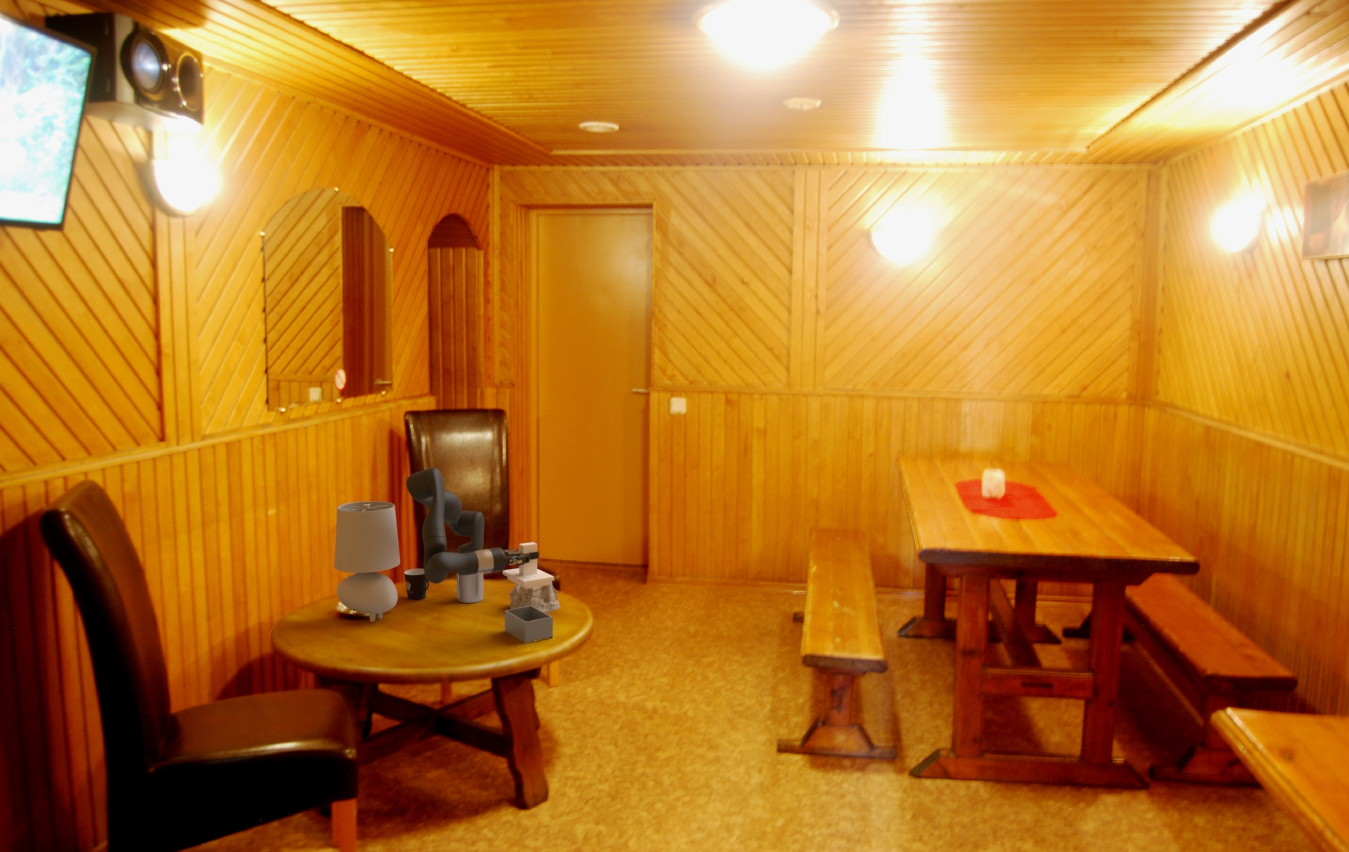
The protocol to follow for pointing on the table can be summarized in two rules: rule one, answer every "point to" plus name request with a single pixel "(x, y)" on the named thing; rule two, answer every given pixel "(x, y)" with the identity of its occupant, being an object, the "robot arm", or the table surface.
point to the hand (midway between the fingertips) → (535, 553)
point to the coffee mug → (416, 584)
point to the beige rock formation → (535, 597)
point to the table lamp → (367, 556)
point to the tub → (528, 624)
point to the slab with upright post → (528, 571)
